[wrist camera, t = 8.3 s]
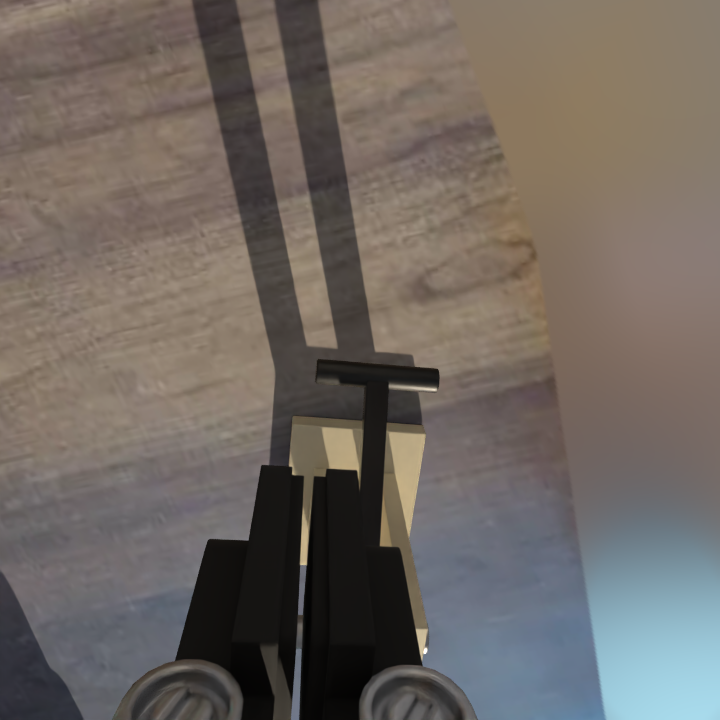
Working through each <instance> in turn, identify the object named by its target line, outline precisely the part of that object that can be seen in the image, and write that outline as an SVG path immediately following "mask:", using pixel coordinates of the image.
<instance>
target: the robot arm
mask: <svg viewBox="0 0 720 720" xmlns="http://www.w3.org/2000/svg"><path fill="white" fill-rule="evenodd" d="M303 490H304V476H303V475H292V467H289V466H270V465H262V466H261V471H260V477H259V482H258V488H257V494H256V500H255V506H254V512H253V518H252V523H251V529H250V535H249V541H244V540H220V539H209V540H208V542H207V545H206V548H205V551H204V555H203V559H202V563H201V566H200V570H199V574H198V577H197V581H196V585H195V589H194V592H193V596H192V600H191V603H190V607H189V611H188V615H187V618H186V622H185V626H184V630H183V633H182V637H181V641H180V644H179V648H178V652H177V656H176V659H175V661H174V662H169V663H165V664H163V665H161V666H159V667H157V668H155V669H153V670H151V671H148V672H147V673H146V674H145V675H144V676H142V677H141V678H140V679H139V680H137V681H136V682H135V683H134V684H133V685H132V687H131V688H130V689H129V691H128V692H127V693H126V695H125V696H124V698H123V699H122V701H121V703H120V705H119V707H118V709H117V711H116V713H115V714H114V716H113V718H112V720H291V709H292V696H293V682H294V669H295V656H296V640H297V621H298V599H299V577H300V556H301V534H302V512H303ZM299 720H478V719H477V717H476V714H475V712H474V709H473V707H472V705H471V703H470V702H469V700H468V698H467V697H466V695H465V693H464V692H463V690H462V689H461V688H459V687H458V686H457V685H456V684H455V683H454V682H453V681H452V680H451V679H450V678H448V677H446V676H445V675H443V674H441V673H439V672H437V671H436V670H433V669H430V668H426V667H423V666H422V660H421V655H420V650H419V644H418V639H417V634H416V628H415V623H414V618H413V612H412V607H411V601H410V596H409V591H408V585H407V580H406V575H405V569H404V564H403V559H402V554H401V550H400V548H399V547H387V546H365V537H364V528H363V518H362V509H361V499H360V490H359V480H358V472H357V470H346V469H326V476H325V477H323V476H314V480H313V493H312V505H311V518H310V530H309V543H308V556H307V568H306V581H305V593H304V608H303V630H302V658H301V686H300V715H299Z"/></svg>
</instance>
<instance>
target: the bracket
mask: <svg viewBox="0 0 720 720" xmlns="http://www.w3.org/2000/svg"><path fill="white" fill-rule="evenodd" d="M361 433H362V421H358V420H345V419H331V418H317V417H304V416H293V419H292V430H291V443H290V455H289V467H292V475H303V476H304V490H303V512H302V534H301V556H300V565H307V556H308V543H309V530H310V518H311V505H312V493H313V480H314V476H323V477H325V476H326V469H346V470H357V472H358V480H359V465H360V449H361ZM425 437H426V433H425V430H424V427H423V425H413V424H399V423H387V429H386V447H385V465H384V482H383V500H382V517H381V535H380V546H387V547H399V548H400V550H401V554H402V559H403V564H404V569H405V575H406V580H407V585H408V591H409V596H410V601H411V607H412V612H413V618H414V623H415V628H416V634H417V639H418V644H419V650H420V655H421V660H422V658H423V654H425V653H427V650H428V645H429V630H428V624H427V621H426V617H425V612H424V607H423V602H422V598H421V593H420V588H419V584H418V579H417V574H416V569H415V565H414V560H413V555H412V550H411V546H410V541H409V535H410V529H411V522H412V516H413V510H414V504H415V498H416V492H417V486H418V480H419V474H420V468H421V462H422V455H423V449H424V443H425ZM302 630H303V615H298V621H297V640H296V649H302Z"/></svg>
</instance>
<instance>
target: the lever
mask: <svg viewBox="0 0 720 720" xmlns="http://www.w3.org/2000/svg"><path fill="white" fill-rule="evenodd" d="M315 382H316V383H317V384H328V385H341V386H354V387H364V402H363V418H362V433H361V449H360V465H359V490H360V499H361V509H362V518H363V528H364V537H365V546H380V535H381V517H382V500H383V482H384V465H385V447H386V429H387V412H388V394H389V389H392V390H405V391H418V392H431V393H436V392H437V390H438V387H439V370H438V369H434V368H422V367H409V366H397V365H385V364H373V363H361V362H348V361H336V360H324V359H318V360H317V366H316V379H315Z"/></svg>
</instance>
